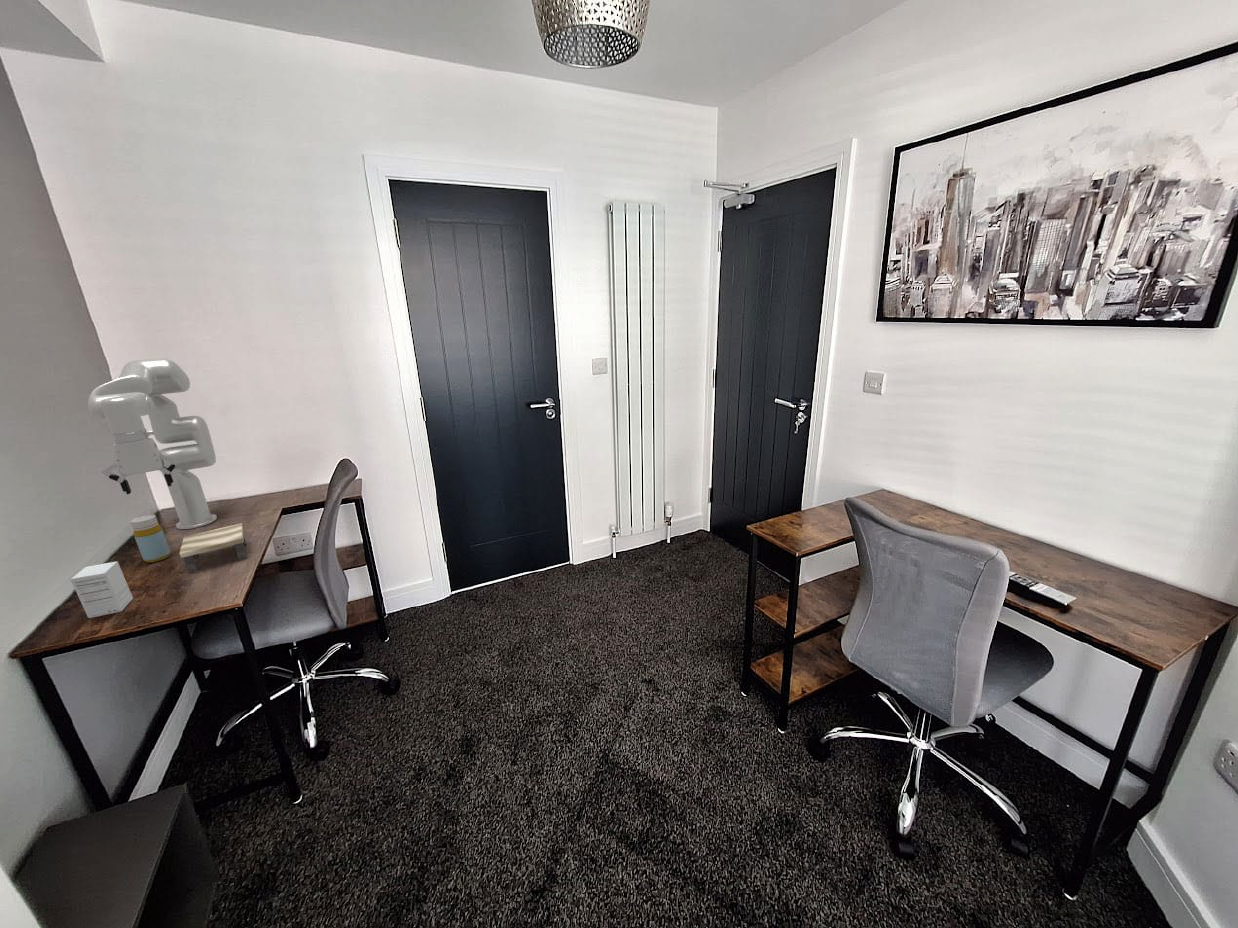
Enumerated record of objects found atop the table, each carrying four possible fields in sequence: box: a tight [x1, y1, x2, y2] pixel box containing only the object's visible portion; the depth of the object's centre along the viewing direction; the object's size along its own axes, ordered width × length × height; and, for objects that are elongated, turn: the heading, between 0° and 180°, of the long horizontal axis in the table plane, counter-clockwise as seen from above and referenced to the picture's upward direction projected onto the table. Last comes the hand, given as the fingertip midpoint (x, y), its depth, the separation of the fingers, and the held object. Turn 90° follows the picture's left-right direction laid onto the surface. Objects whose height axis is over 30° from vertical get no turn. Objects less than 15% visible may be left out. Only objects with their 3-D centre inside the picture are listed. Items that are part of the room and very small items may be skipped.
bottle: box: [130, 514, 172, 564], centre depth 164 cm, size 7×7×15 cm
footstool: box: [179, 522, 247, 574], centre depth 164 cm, size 16×16×8 cm
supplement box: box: [70, 561, 134, 619], centre depth 136 cm, size 7×7×13 cm
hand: (149, 489), depth 154 cm, fingers open, 9 cm apart
